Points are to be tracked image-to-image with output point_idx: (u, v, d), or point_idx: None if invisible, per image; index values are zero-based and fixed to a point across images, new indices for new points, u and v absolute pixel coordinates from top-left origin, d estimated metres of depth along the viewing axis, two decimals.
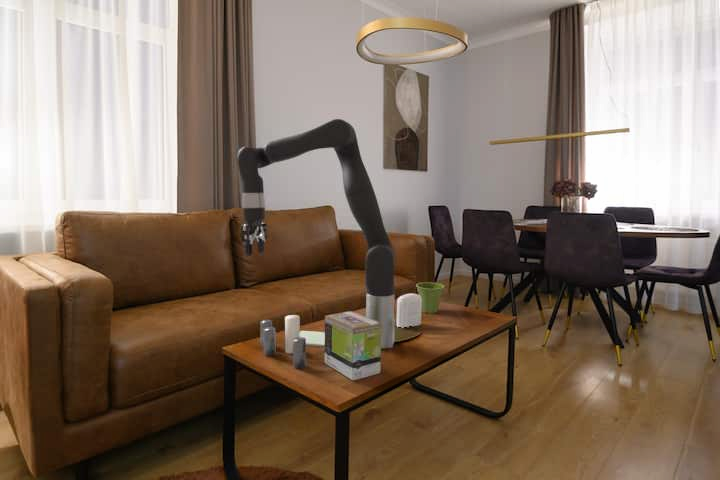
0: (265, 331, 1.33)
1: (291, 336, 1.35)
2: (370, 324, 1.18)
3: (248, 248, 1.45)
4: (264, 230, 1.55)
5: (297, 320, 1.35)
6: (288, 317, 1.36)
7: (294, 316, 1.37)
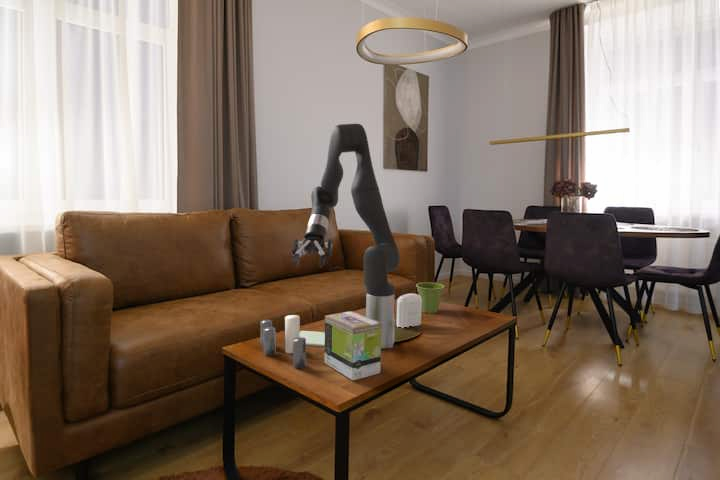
0: (265, 331, 1.33)
1: (291, 336, 1.35)
2: (370, 324, 1.18)
3: None
4: None
5: (297, 320, 1.35)
6: (288, 317, 1.36)
7: (294, 316, 1.37)
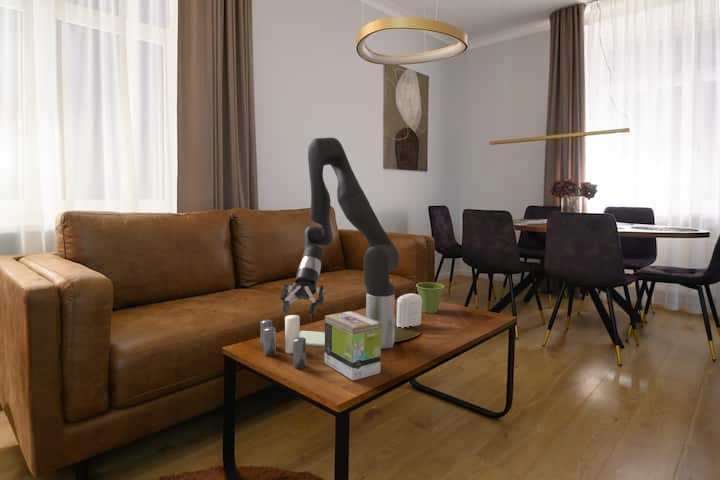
0: (265, 331, 1.33)
1: (291, 336, 1.35)
2: (370, 324, 1.18)
3: None
4: None
5: (297, 320, 1.35)
6: (288, 317, 1.36)
7: (294, 316, 1.37)
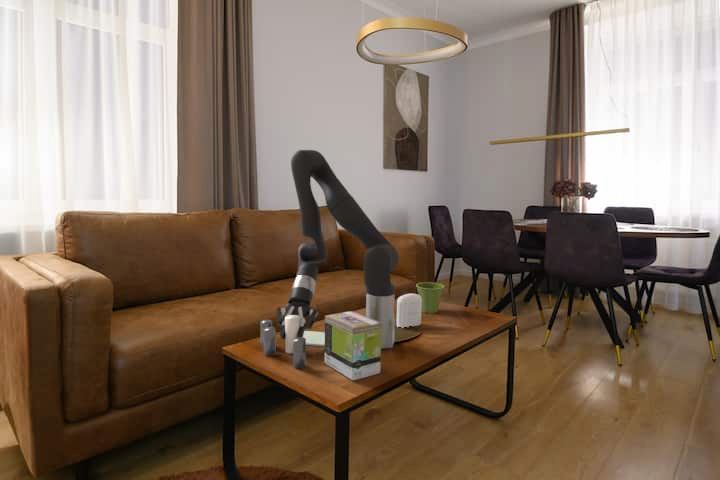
0: (265, 331, 1.33)
1: (291, 336, 1.35)
2: (370, 324, 1.18)
3: None
4: None
5: (297, 320, 1.35)
6: (288, 317, 1.36)
7: (294, 316, 1.37)
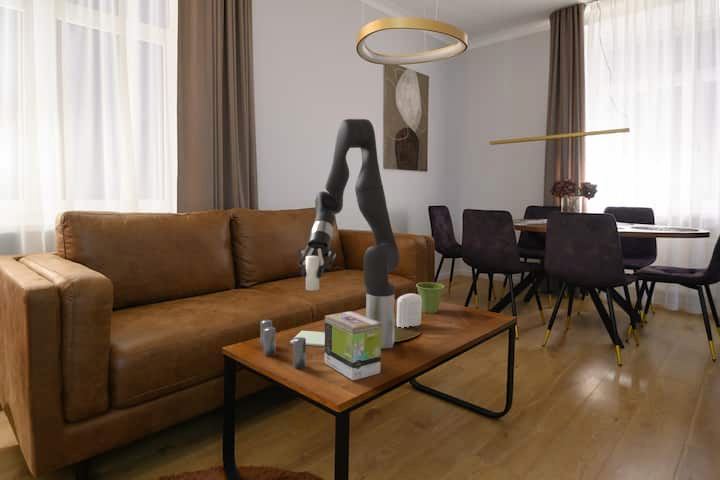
0: (265, 331, 1.33)
1: (311, 274, 1.44)
2: (370, 324, 1.18)
3: None
4: None
5: (317, 259, 1.44)
6: (308, 256, 1.45)
7: (314, 256, 1.46)
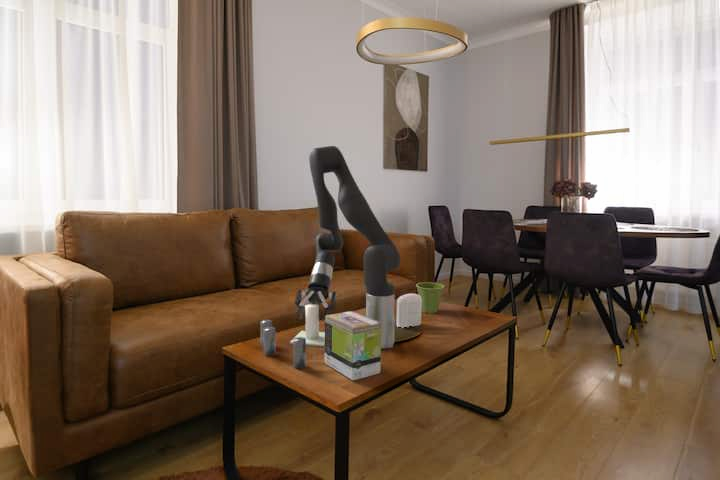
0: (265, 331, 1.33)
1: (311, 323, 1.46)
2: (370, 324, 1.18)
3: None
4: None
5: (316, 308, 1.46)
6: (308, 306, 1.47)
7: (313, 305, 1.48)
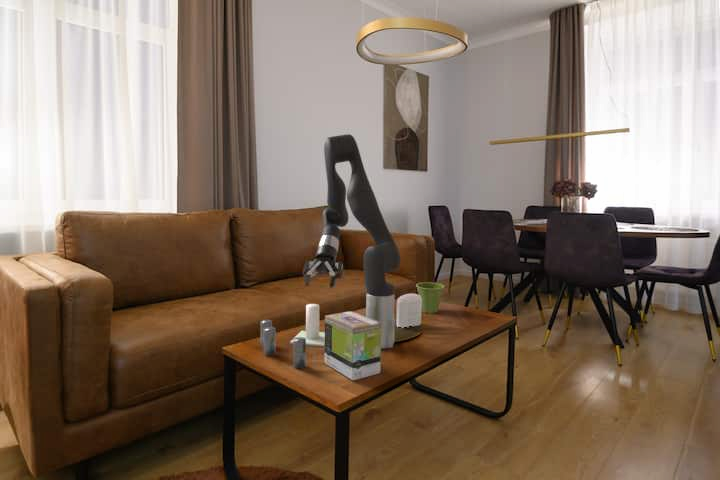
0: (265, 331, 1.33)
1: (311, 323, 1.46)
2: (370, 324, 1.18)
3: None
4: None
5: (317, 308, 1.47)
6: (309, 305, 1.47)
7: (314, 305, 1.49)
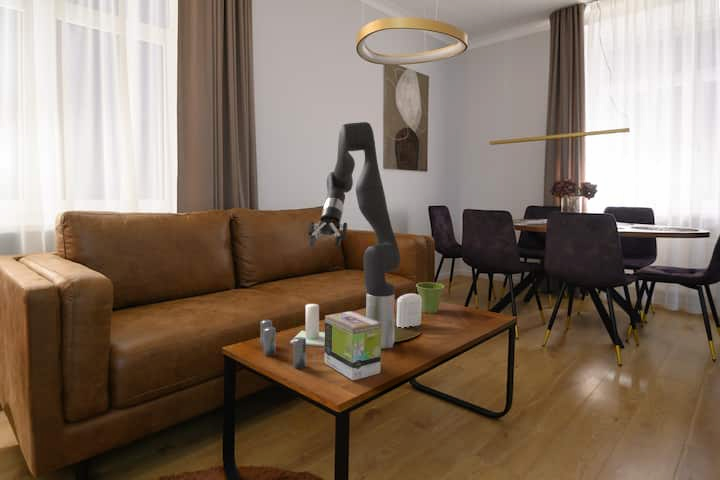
0: (265, 331, 1.33)
1: (311, 323, 1.46)
2: (370, 324, 1.18)
3: None
4: None
5: (317, 308, 1.47)
6: (308, 305, 1.47)
7: (314, 305, 1.49)
